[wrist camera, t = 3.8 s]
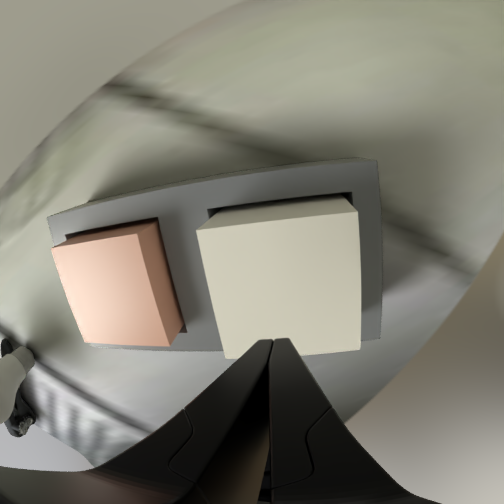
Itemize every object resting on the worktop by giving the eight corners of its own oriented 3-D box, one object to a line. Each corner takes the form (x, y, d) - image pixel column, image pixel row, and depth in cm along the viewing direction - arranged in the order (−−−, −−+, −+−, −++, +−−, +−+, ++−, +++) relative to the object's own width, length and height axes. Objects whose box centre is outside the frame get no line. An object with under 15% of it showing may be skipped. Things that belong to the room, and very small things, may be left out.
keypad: (366, 302, 18) (380, 338, 14) (118, 317, 21) (90, 346, 17) (358, 157, 15) (376, 160, 11) (85, 203, 18) (46, 217, 15)
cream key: (346, 299, 16) (360, 349, 11) (242, 309, 17) (225, 358, 12) (340, 193, 14) (357, 211, 10) (223, 206, 15) (196, 230, 11)
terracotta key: (196, 303, 18) (170, 346, 14) (120, 306, 19) (85, 342, 15) (175, 211, 16) (137, 233, 12) (96, 226, 17) (50, 248, 13)
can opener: (44, 428, 32) (26, 451, 27) (12, 403, 32) (-7, 423, 27) (28, 352, 26) (-2, 380, 20) (-9, 322, 26) (-38, 344, 20)
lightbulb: (31, 326, 24) (-40, 388, 13) (59, 376, 25) (1, 444, 15) (5, 329, 25) (-57, 381, 15) (31, 373, 27) (-22, 430, 16)
